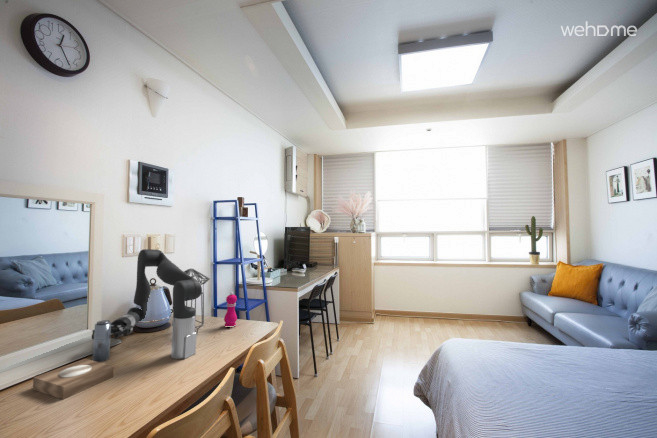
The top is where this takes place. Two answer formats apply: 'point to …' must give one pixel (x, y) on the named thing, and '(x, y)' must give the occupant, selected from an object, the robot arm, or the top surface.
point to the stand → (72, 378)
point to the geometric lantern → (196, 273)
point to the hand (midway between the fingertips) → (104, 336)
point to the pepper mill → (230, 310)
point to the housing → (102, 341)
